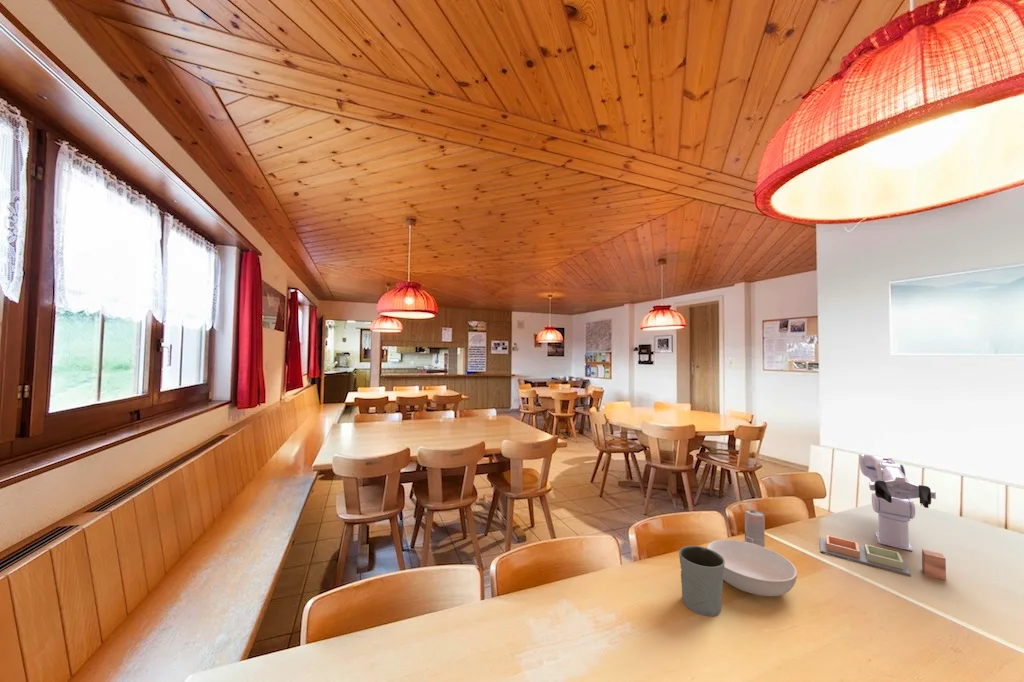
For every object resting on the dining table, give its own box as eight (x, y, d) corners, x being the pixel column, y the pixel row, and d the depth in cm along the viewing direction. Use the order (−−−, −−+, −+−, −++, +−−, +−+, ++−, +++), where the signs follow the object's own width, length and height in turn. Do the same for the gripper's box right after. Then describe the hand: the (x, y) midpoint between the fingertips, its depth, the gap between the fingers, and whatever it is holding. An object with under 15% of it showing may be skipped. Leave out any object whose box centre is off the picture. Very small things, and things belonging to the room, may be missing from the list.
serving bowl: (697, 584, 102) (697, 558, 102) (716, 555, 118) (716, 532, 118) (793, 621, 88) (793, 591, 88) (800, 582, 104) (799, 556, 104)
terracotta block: (922, 569, 112) (921, 548, 112) (942, 574, 110) (941, 553, 110) (925, 575, 109) (924, 553, 109) (946, 580, 107) (945, 558, 107)
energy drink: (758, 547, 123) (758, 509, 124) (768, 555, 118) (768, 516, 118) (741, 546, 124) (741, 508, 124) (750, 554, 118) (750, 515, 119)
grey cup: (720, 597, 96) (720, 549, 97) (729, 624, 87) (729, 570, 87) (677, 589, 99) (677, 542, 100) (680, 613, 90) (681, 561, 90)
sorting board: (820, 538, 130) (819, 531, 130) (902, 559, 118) (902, 550, 118) (820, 552, 121) (820, 544, 121) (910, 576, 108) (910, 566, 108)
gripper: (866, 468, 128) (873, 484, 117) (928, 474, 119) (943, 493, 108) (867, 488, 128) (875, 506, 117) (929, 496, 119) (944, 517, 108)
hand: (907, 501), depth 113 cm, fingers open, 7 cm apart
